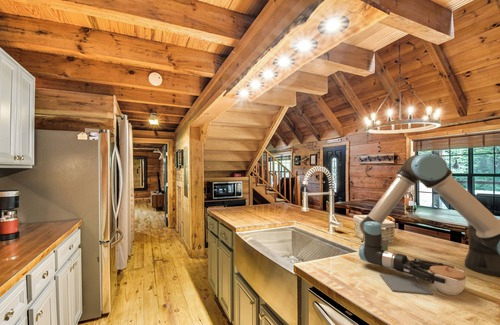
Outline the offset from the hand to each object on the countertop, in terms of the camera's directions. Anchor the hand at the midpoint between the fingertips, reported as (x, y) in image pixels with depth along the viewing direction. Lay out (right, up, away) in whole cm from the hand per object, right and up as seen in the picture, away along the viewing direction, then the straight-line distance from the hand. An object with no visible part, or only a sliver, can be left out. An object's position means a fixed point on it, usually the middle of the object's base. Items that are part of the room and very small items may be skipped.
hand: (460, 279), depth 88 cm
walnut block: (+9, -7, +17) cm, 20 cm away
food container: (-8, -7, +38) cm, 39 cm away
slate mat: (-16, -6, +9) cm, 19 cm away
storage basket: (+2, -8, +67) cm, 67 cm away
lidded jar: (-3, -6, +3) cm, 8 cm away
